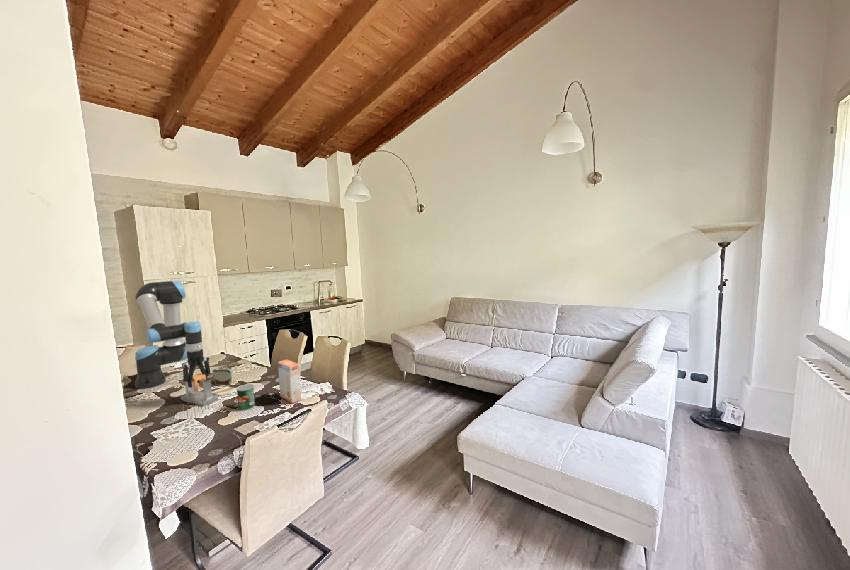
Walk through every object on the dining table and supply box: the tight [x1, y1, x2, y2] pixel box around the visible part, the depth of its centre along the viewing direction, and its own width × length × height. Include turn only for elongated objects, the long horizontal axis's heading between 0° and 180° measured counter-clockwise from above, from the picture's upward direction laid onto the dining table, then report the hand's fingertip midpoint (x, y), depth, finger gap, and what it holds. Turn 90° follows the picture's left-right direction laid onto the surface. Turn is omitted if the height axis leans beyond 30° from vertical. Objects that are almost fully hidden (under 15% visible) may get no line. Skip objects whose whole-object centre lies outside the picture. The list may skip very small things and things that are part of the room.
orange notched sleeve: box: [192, 373, 206, 392], centre depth 192 cm, size 5×6×8 cm
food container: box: [211, 365, 234, 386], centre depth 216 cm, size 12×6×10 cm, turn 84°
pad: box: [212, 385, 237, 397], centre depth 204 cm, size 10×10×1 cm
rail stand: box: [180, 379, 219, 407], centre depth 192 cm, size 20×8×12 cm, turn 65°
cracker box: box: [277, 359, 302, 404], centre depth 192 cm, size 14×6×21 cm, turn 48°
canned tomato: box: [236, 384, 256, 412], centre depth 183 cm, size 8×8×11 cm
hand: (198, 390), depth 192 cm, fingers closed on orange notched sleeve, 6 cm apart
